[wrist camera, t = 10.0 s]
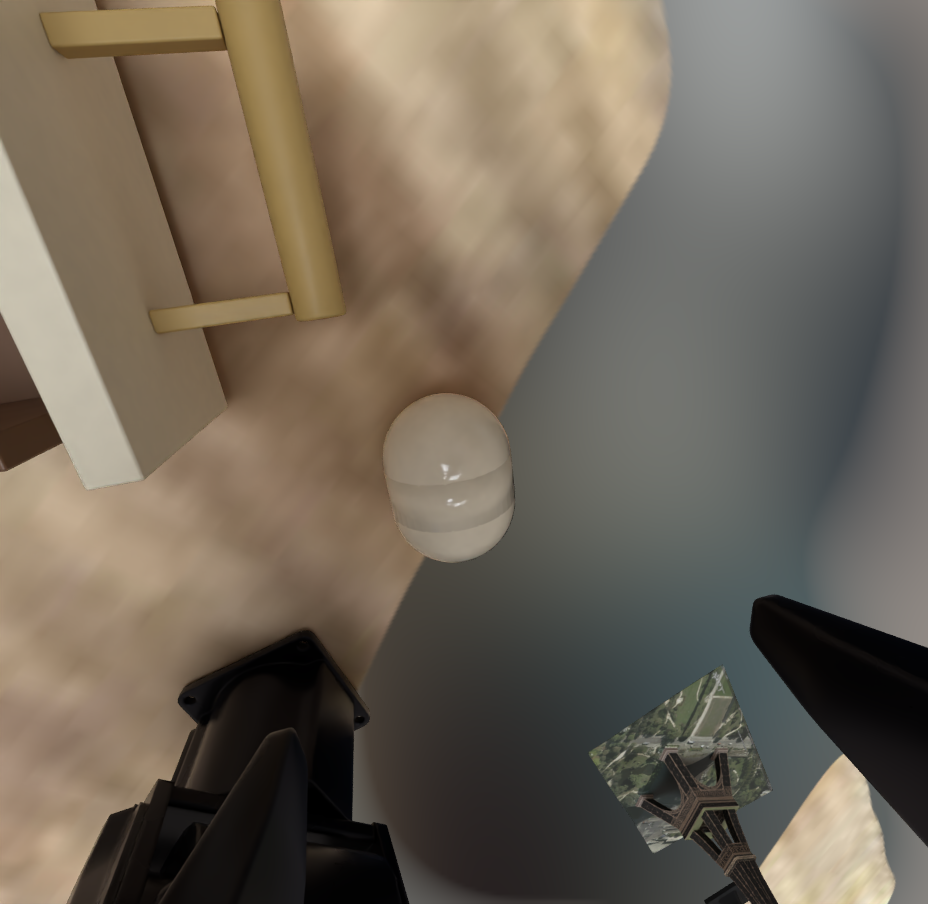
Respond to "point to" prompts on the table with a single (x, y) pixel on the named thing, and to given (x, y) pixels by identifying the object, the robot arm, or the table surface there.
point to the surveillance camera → (728, 896)
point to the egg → (449, 477)
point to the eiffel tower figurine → (692, 776)
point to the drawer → (130, 233)
